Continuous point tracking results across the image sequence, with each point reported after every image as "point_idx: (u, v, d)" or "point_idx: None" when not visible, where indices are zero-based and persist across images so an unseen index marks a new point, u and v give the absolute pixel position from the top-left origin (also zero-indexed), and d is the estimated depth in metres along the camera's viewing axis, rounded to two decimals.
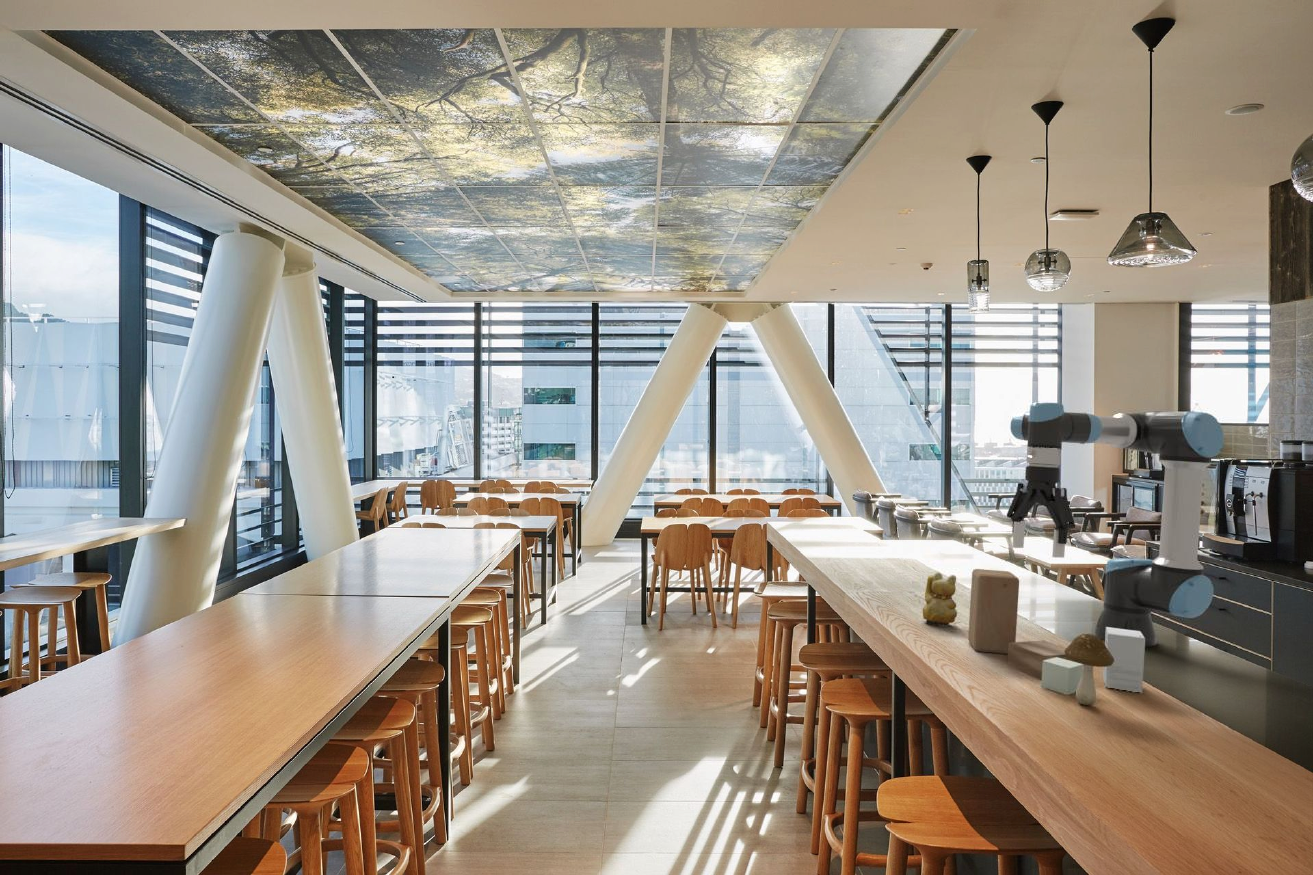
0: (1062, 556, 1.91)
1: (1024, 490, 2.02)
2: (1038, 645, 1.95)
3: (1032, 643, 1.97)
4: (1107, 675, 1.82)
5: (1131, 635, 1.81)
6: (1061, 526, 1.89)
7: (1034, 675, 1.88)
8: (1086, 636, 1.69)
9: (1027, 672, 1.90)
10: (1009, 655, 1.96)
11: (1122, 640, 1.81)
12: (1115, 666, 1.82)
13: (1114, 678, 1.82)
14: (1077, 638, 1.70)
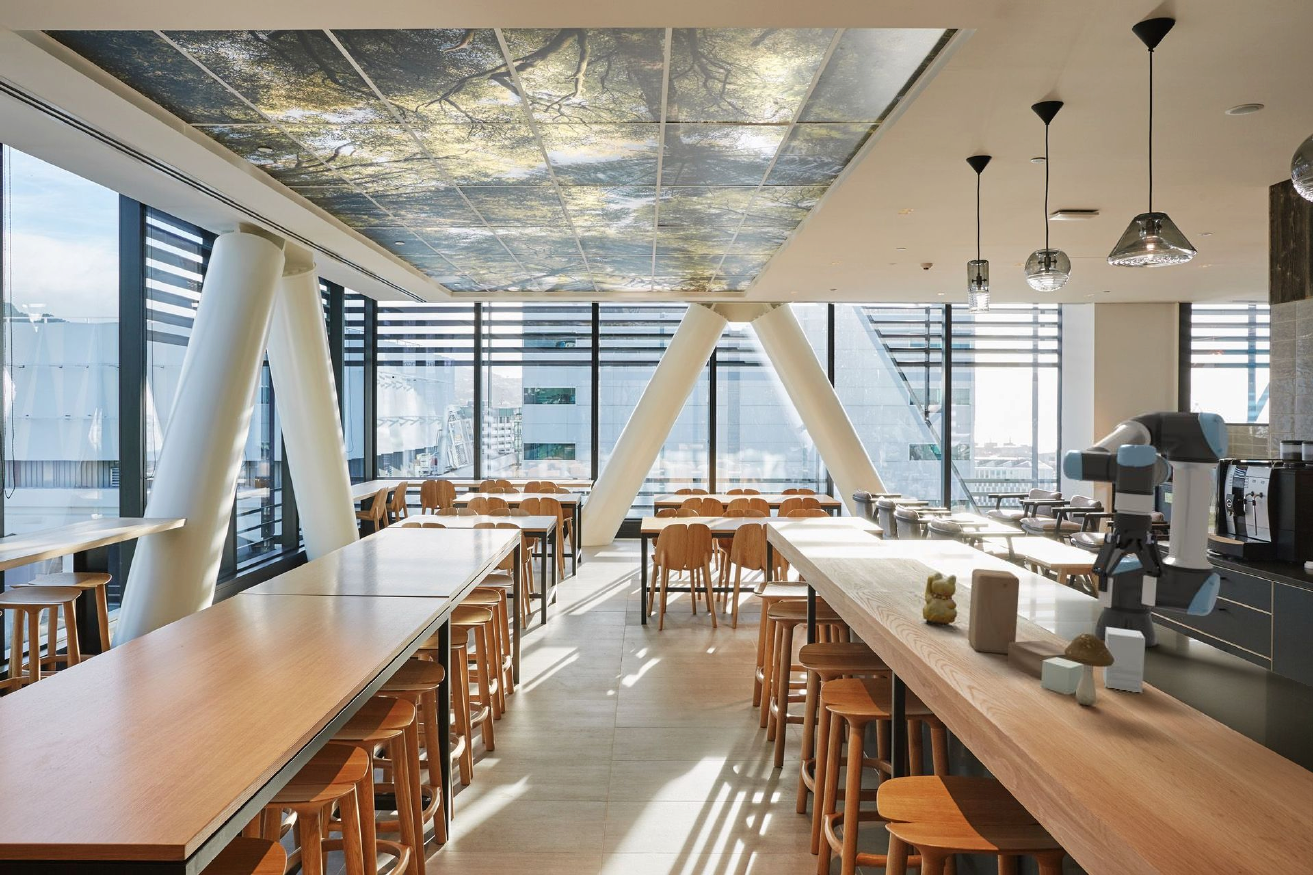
0: (1107, 605, 1.80)
1: (1145, 541, 1.86)
2: (1038, 645, 1.95)
3: (1033, 643, 1.97)
4: (1107, 675, 1.82)
5: (1131, 635, 1.81)
6: None
7: (1033, 675, 1.89)
8: (1086, 636, 1.69)
9: (1026, 672, 1.91)
10: (1009, 655, 1.96)
11: (1122, 640, 1.81)
12: (1115, 666, 1.82)
13: (1114, 678, 1.82)
14: (1077, 638, 1.70)
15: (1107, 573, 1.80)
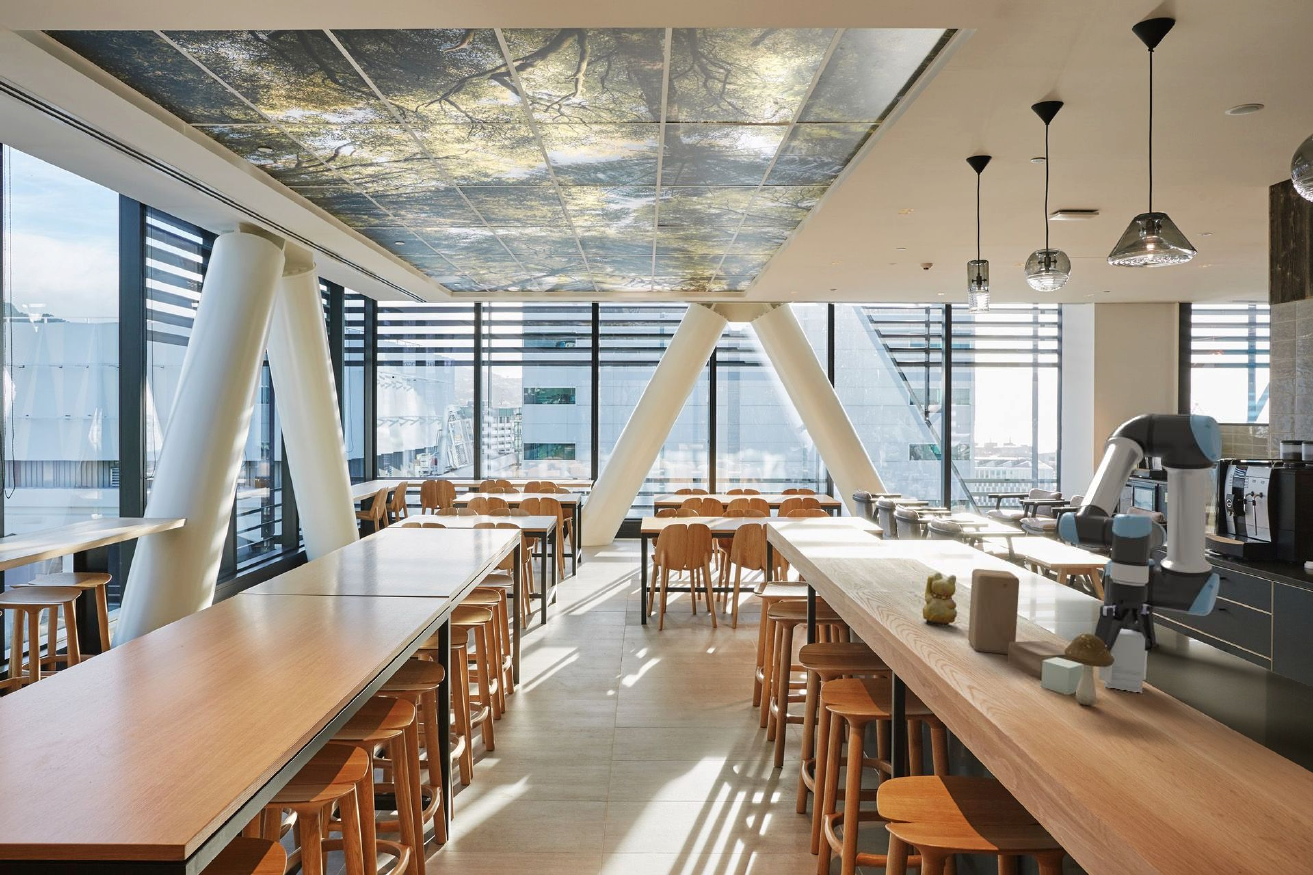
0: (1107, 680, 1.81)
1: None
2: (1039, 645, 1.95)
3: (1033, 643, 1.97)
4: None
5: (1131, 635, 1.81)
6: None
7: (1031, 674, 1.89)
8: (1086, 636, 1.69)
9: (1025, 671, 1.91)
10: (1009, 654, 1.97)
11: (1122, 640, 1.81)
12: (1115, 666, 1.82)
13: (1114, 678, 1.82)
14: (1077, 638, 1.70)
15: None
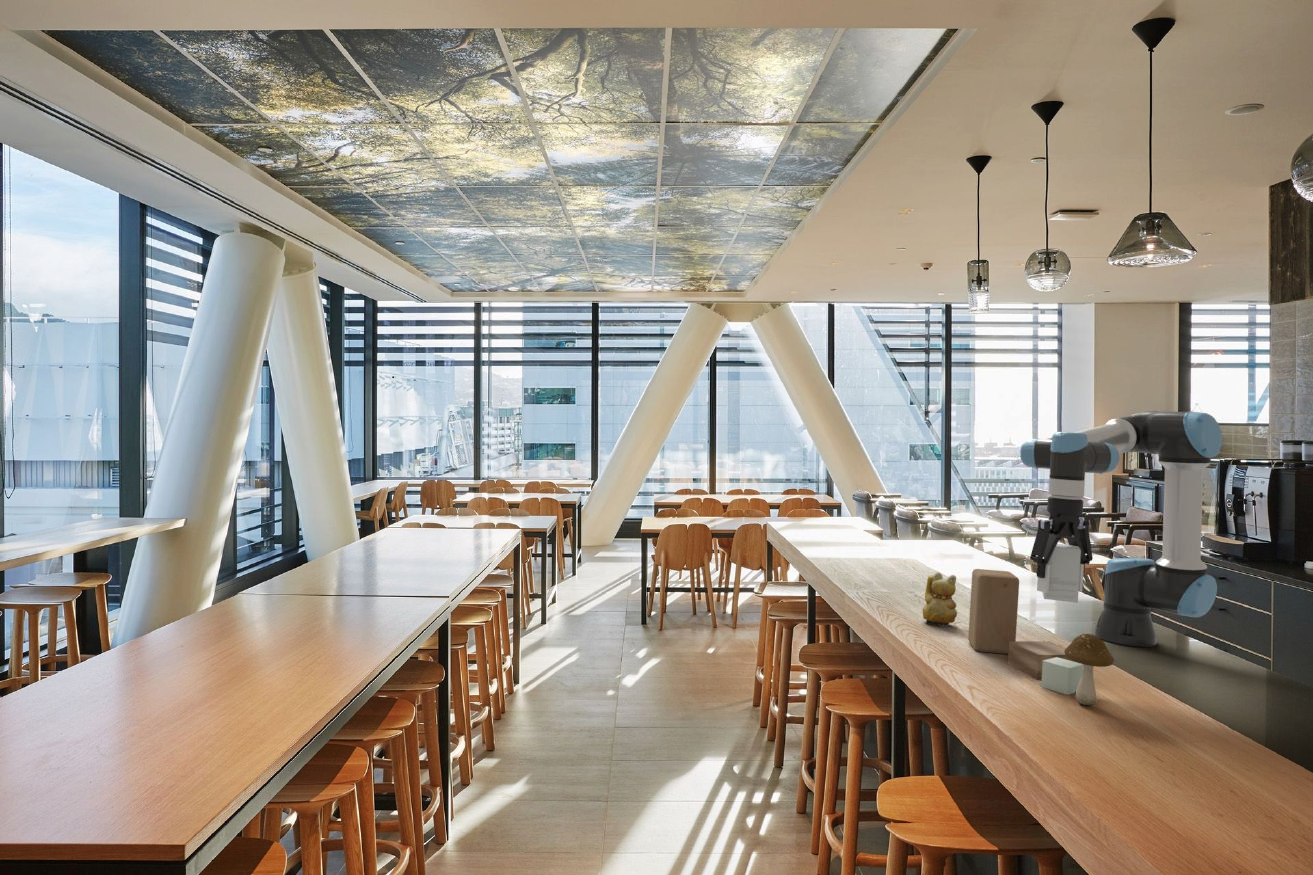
0: (1044, 591, 1.88)
1: (1077, 526, 1.93)
2: (1039, 645, 1.95)
3: (1034, 643, 1.97)
4: None
5: (1068, 547, 1.88)
6: None
7: (1030, 674, 1.89)
8: (1086, 636, 1.69)
9: (1024, 671, 1.91)
10: (1009, 654, 1.97)
11: (1059, 552, 1.88)
12: (1052, 577, 1.88)
13: (1052, 589, 1.88)
14: (1077, 638, 1.70)
15: (1044, 560, 1.87)
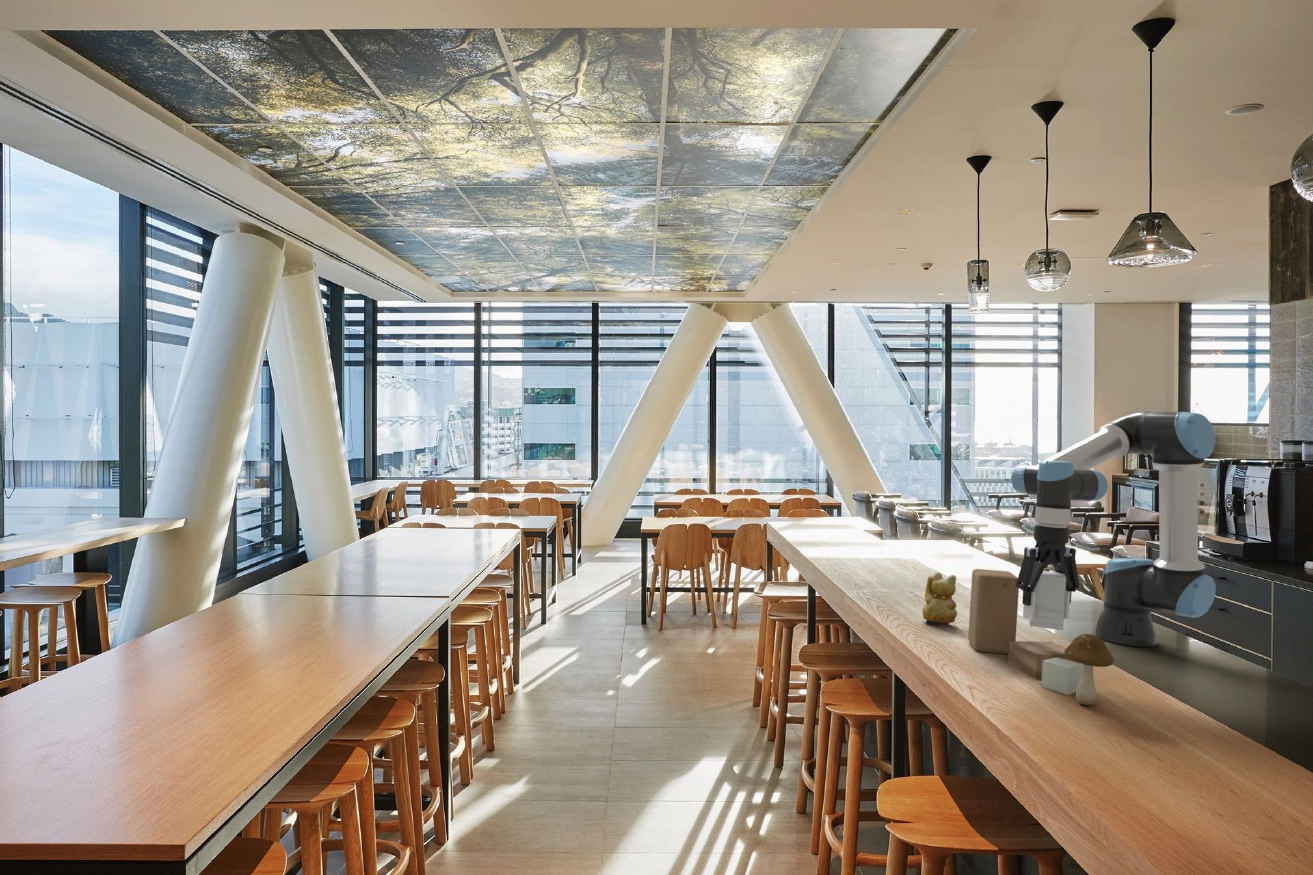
0: (1030, 618, 1.90)
1: (1064, 553, 1.95)
2: (1040, 645, 1.95)
3: (1035, 643, 1.97)
4: None
5: (1053, 575, 1.90)
6: None
7: (1029, 674, 1.89)
8: (1086, 636, 1.69)
9: (1023, 671, 1.91)
10: (1009, 653, 1.97)
11: (1045, 580, 1.90)
12: (1038, 605, 1.90)
13: (1037, 616, 1.90)
14: (1077, 638, 1.70)
15: (1030, 588, 1.89)
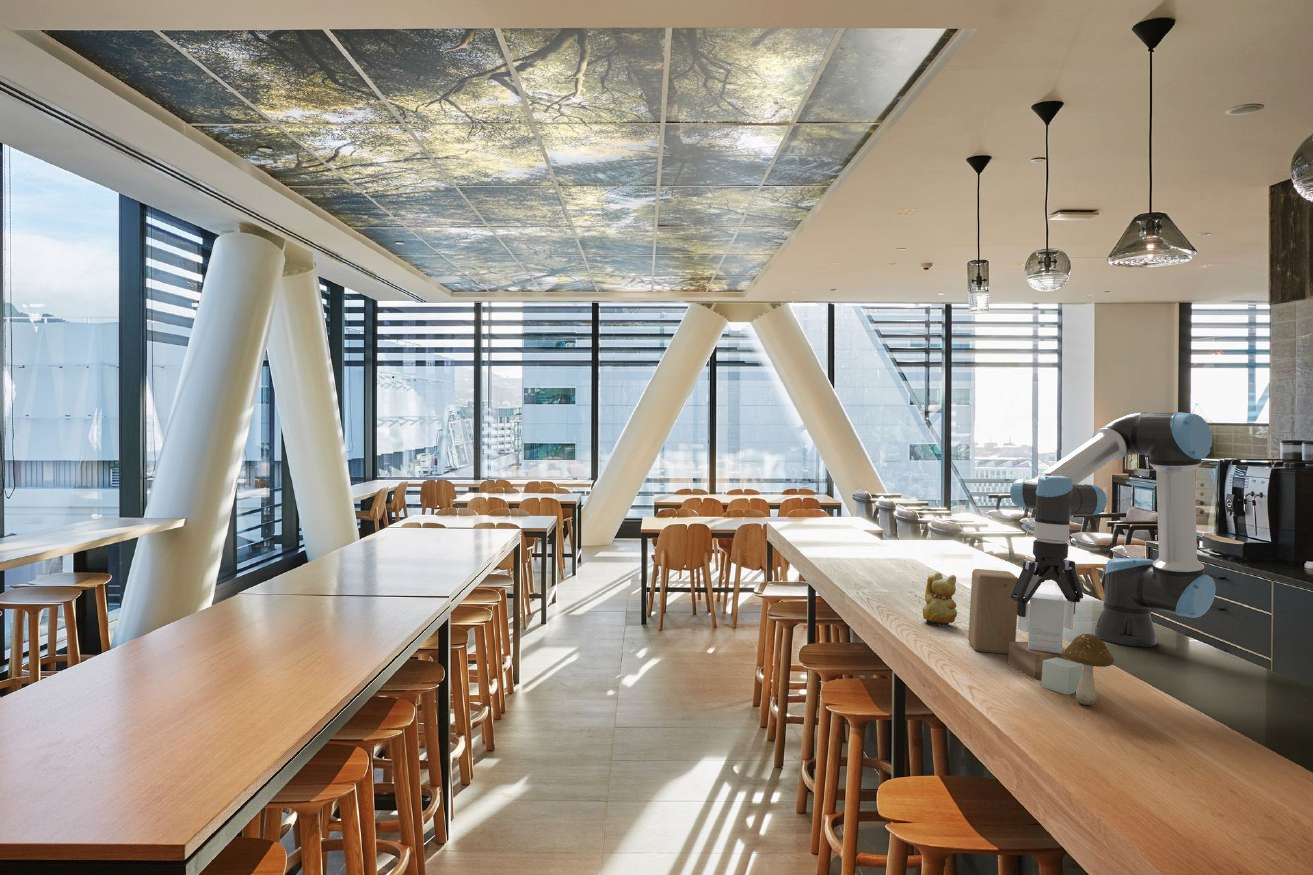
0: (1025, 630, 1.89)
1: None
2: None
3: None
4: (1029, 637, 1.91)
5: (1052, 598, 1.90)
6: None
7: (1028, 674, 1.89)
8: (1086, 636, 1.69)
9: (1023, 671, 1.92)
10: (1009, 654, 1.97)
11: (1043, 603, 1.90)
12: (1036, 628, 1.90)
13: (1036, 640, 1.90)
14: (1077, 638, 1.70)
15: (1025, 599, 1.89)
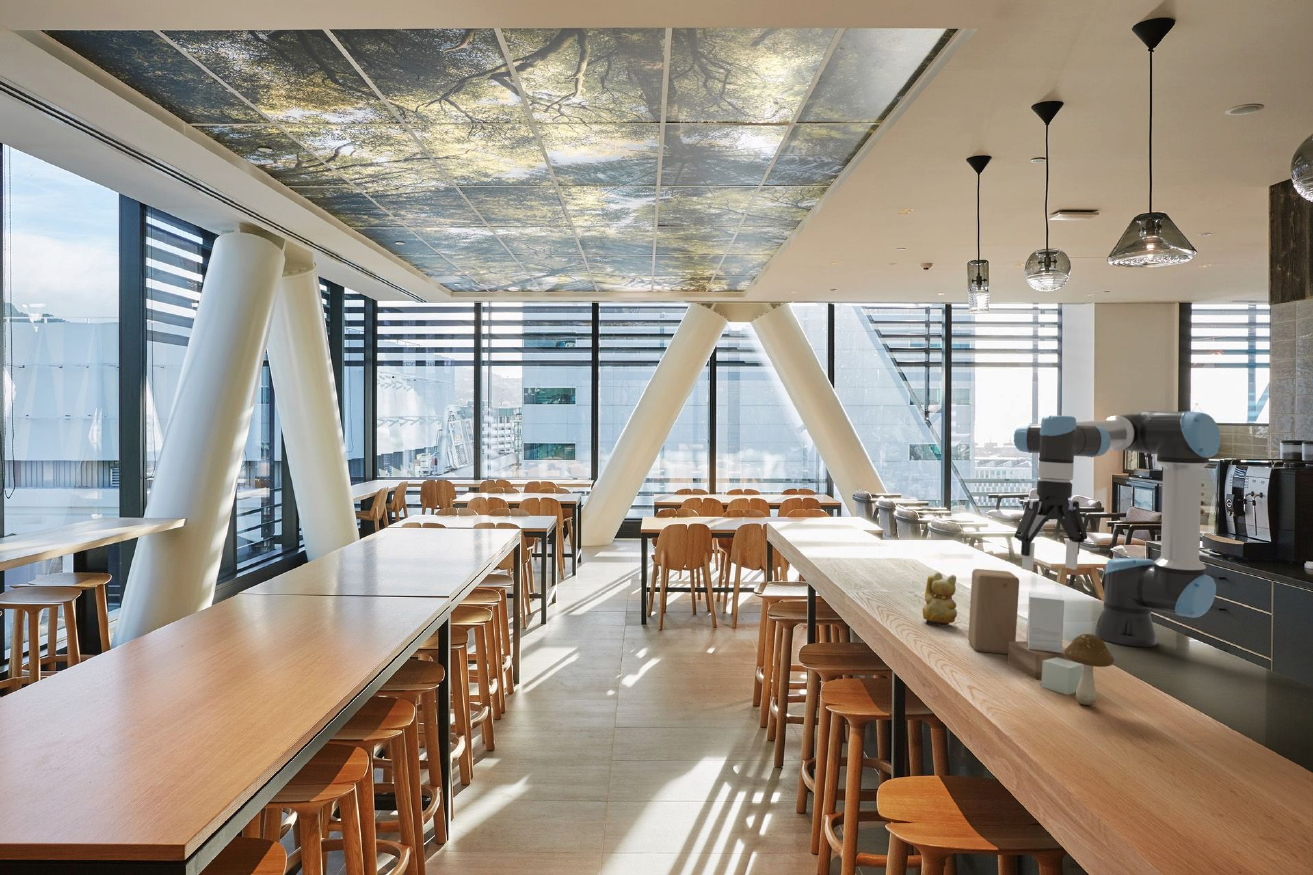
0: (1029, 569, 1.89)
1: (1067, 507, 1.94)
2: None
3: None
4: (1029, 636, 1.91)
5: (1051, 598, 1.90)
6: None
7: (1028, 674, 1.89)
8: (1086, 636, 1.69)
9: (1023, 671, 1.92)
10: (1009, 654, 1.97)
11: (1043, 603, 1.90)
12: (1037, 628, 1.90)
13: (1036, 639, 1.90)
14: (1077, 638, 1.70)
15: (1029, 538, 1.88)
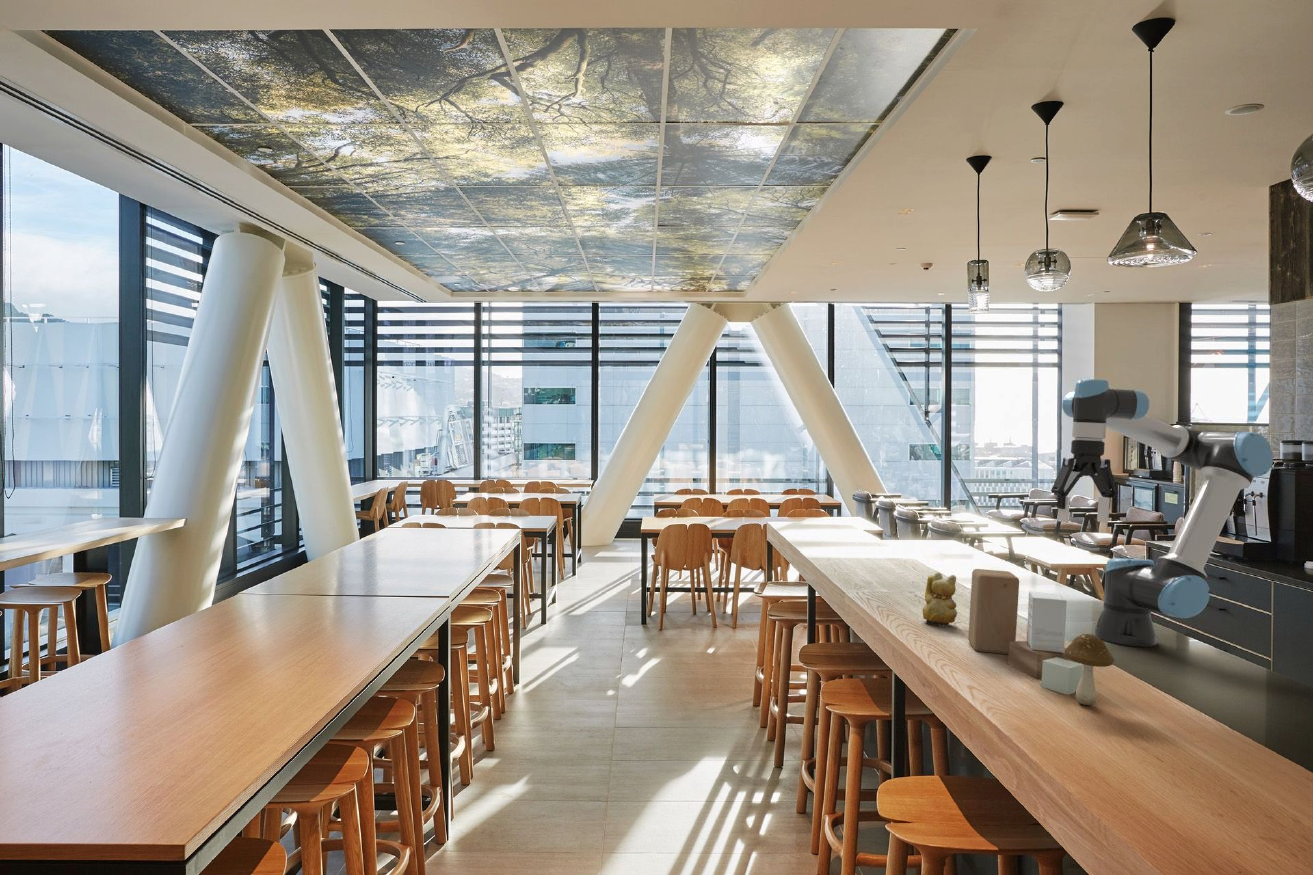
0: (1064, 521, 2.04)
1: (1099, 465, 2.10)
2: None
3: None
4: (1032, 637, 1.90)
5: (1053, 598, 1.90)
6: None
7: (1029, 673, 1.90)
8: (1086, 636, 1.69)
9: (1024, 670, 1.92)
10: (1009, 653, 1.97)
11: (1046, 603, 1.89)
12: (1039, 628, 1.90)
13: (1039, 640, 1.90)
14: (1077, 638, 1.70)
15: (1065, 492, 2.04)
